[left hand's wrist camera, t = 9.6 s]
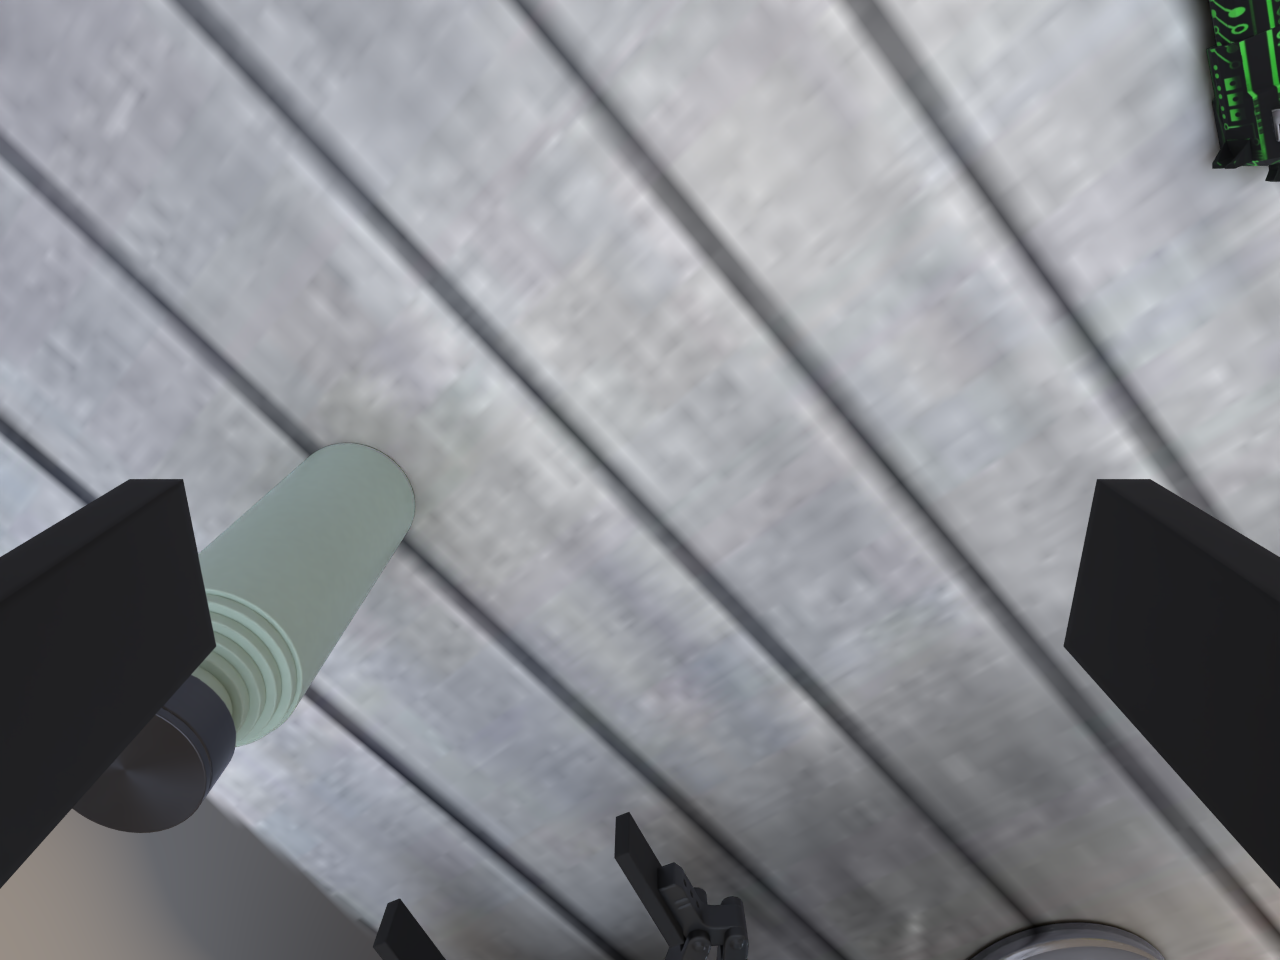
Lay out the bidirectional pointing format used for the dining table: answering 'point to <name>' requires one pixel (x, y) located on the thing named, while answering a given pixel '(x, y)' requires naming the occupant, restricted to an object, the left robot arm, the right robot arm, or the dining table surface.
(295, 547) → the bottle
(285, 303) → the dining table surface
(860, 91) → the dining table surface
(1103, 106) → the dining table surface
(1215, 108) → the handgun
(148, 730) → the cap
